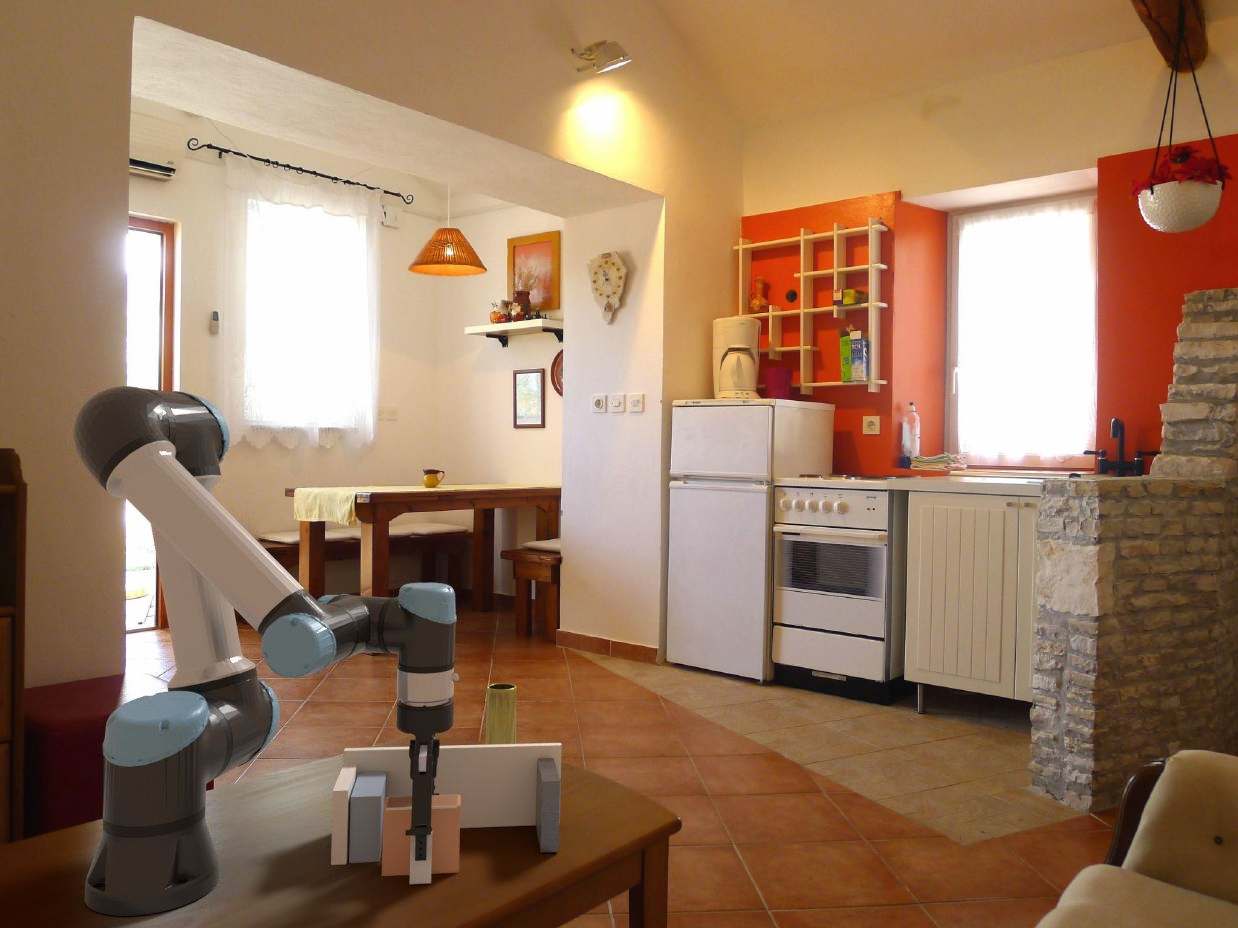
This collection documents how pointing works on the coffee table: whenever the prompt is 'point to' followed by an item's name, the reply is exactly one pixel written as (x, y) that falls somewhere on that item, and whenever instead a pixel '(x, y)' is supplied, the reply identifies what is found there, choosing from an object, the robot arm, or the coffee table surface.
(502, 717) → the vase
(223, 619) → the robot arm
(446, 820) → the rust book
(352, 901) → the coffee table surface
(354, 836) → the blue book
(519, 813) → the white upright backboard
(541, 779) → the bookend
